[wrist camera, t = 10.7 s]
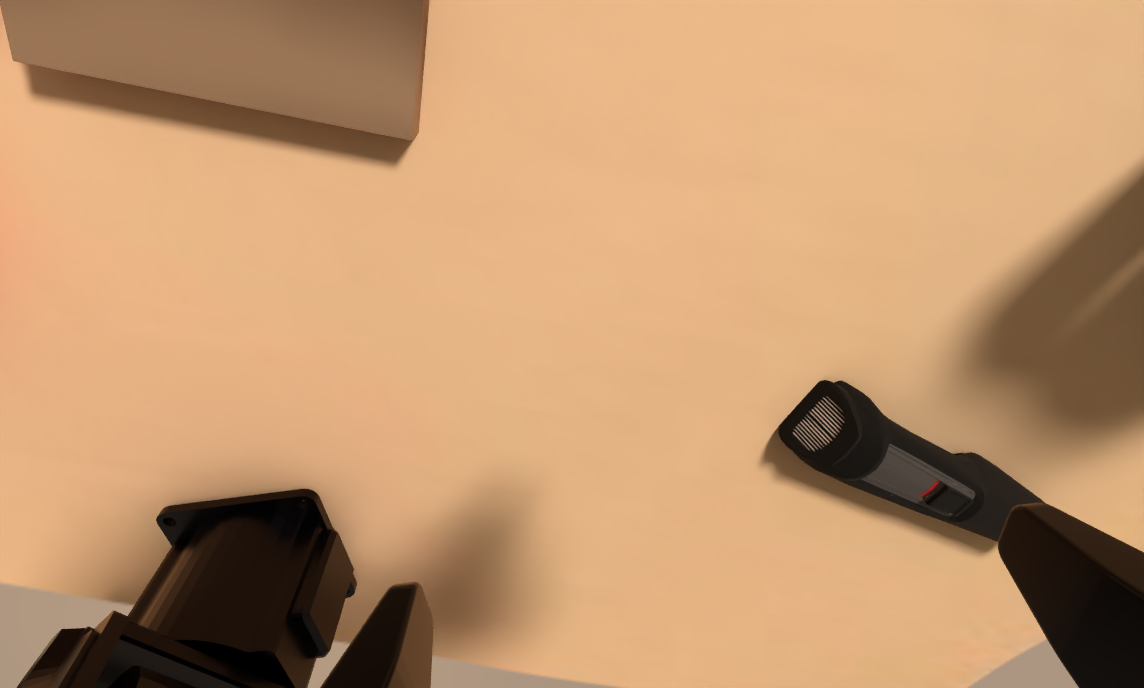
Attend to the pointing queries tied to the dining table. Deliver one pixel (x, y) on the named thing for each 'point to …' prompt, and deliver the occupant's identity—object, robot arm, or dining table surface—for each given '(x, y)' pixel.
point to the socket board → (243, 52)
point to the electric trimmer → (898, 461)
